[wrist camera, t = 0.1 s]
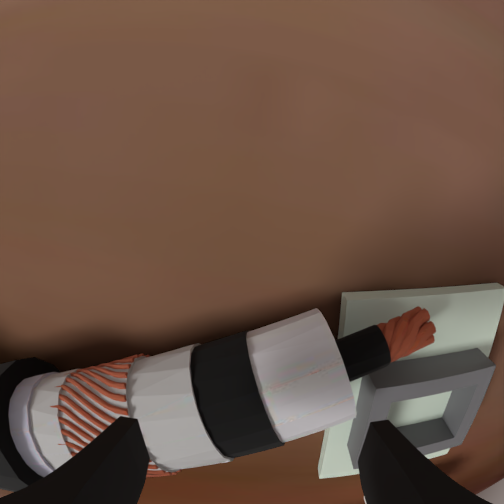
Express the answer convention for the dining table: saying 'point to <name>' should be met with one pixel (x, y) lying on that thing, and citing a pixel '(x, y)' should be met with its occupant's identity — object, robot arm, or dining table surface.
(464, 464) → the dining table surface
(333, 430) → the board
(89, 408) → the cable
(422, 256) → the dining table surface
